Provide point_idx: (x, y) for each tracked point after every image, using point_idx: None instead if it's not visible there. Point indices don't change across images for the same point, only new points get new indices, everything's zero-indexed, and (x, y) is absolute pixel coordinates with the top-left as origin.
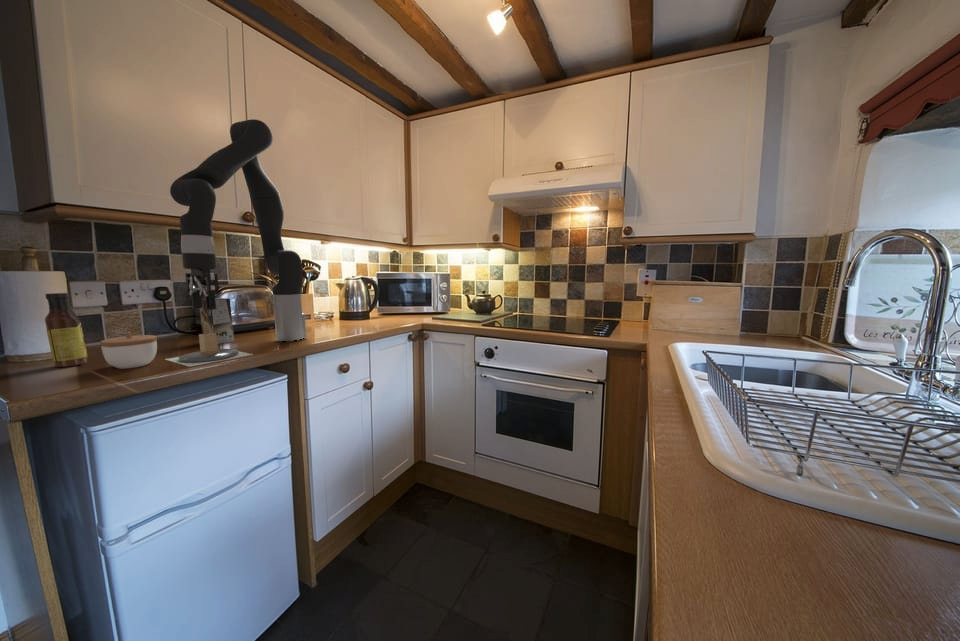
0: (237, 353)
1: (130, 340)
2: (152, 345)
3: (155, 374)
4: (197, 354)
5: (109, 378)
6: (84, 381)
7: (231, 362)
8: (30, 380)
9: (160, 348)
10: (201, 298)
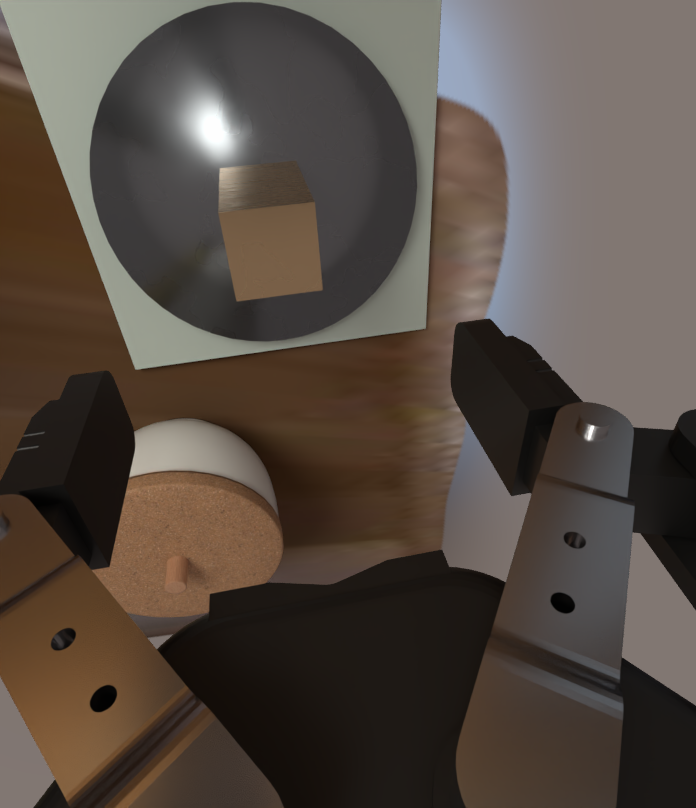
0: (358, 49)
1: (267, 556)
2: (245, 471)
3: (413, 418)
4: (214, 255)
5: (340, 502)
6: (320, 538)
7: (491, 156)
8: None
9: None
10: (72, 449)
